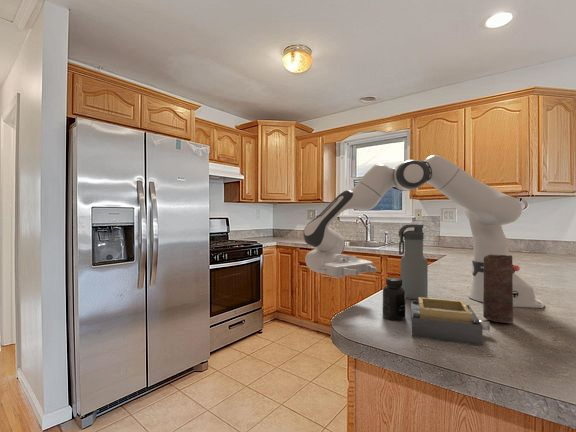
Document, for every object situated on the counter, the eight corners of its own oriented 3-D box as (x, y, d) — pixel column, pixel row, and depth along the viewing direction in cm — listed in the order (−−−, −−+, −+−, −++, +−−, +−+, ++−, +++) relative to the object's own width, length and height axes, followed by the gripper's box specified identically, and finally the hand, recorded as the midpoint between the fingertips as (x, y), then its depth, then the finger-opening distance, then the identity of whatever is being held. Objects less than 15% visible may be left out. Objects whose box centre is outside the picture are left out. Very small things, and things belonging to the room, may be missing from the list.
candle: (503, 327, 87) (503, 257, 87) (477, 319, 94) (477, 254, 94) (518, 323, 91) (518, 255, 91) (492, 316, 97) (492, 252, 97)
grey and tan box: (481, 325, 89) (482, 301, 89) (496, 347, 74) (497, 318, 74) (411, 317, 96) (411, 294, 96) (411, 336, 81) (411, 309, 81)
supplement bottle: (407, 322, 92) (407, 281, 92) (383, 320, 94) (383, 280, 93) (403, 314, 99) (403, 277, 99) (381, 313, 100) (381, 276, 100)
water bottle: (396, 297, 119) (396, 224, 119) (402, 292, 127) (402, 223, 127) (425, 301, 113) (425, 225, 113) (429, 295, 121) (429, 224, 121)
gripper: (316, 259, 110) (344, 264, 99) (356, 255, 122) (385, 260, 111) (316, 276, 110) (344, 284, 99) (355, 271, 122) (384, 277, 111)
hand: (366, 271), depth 105 cm, fingers open, 8 cm apart
